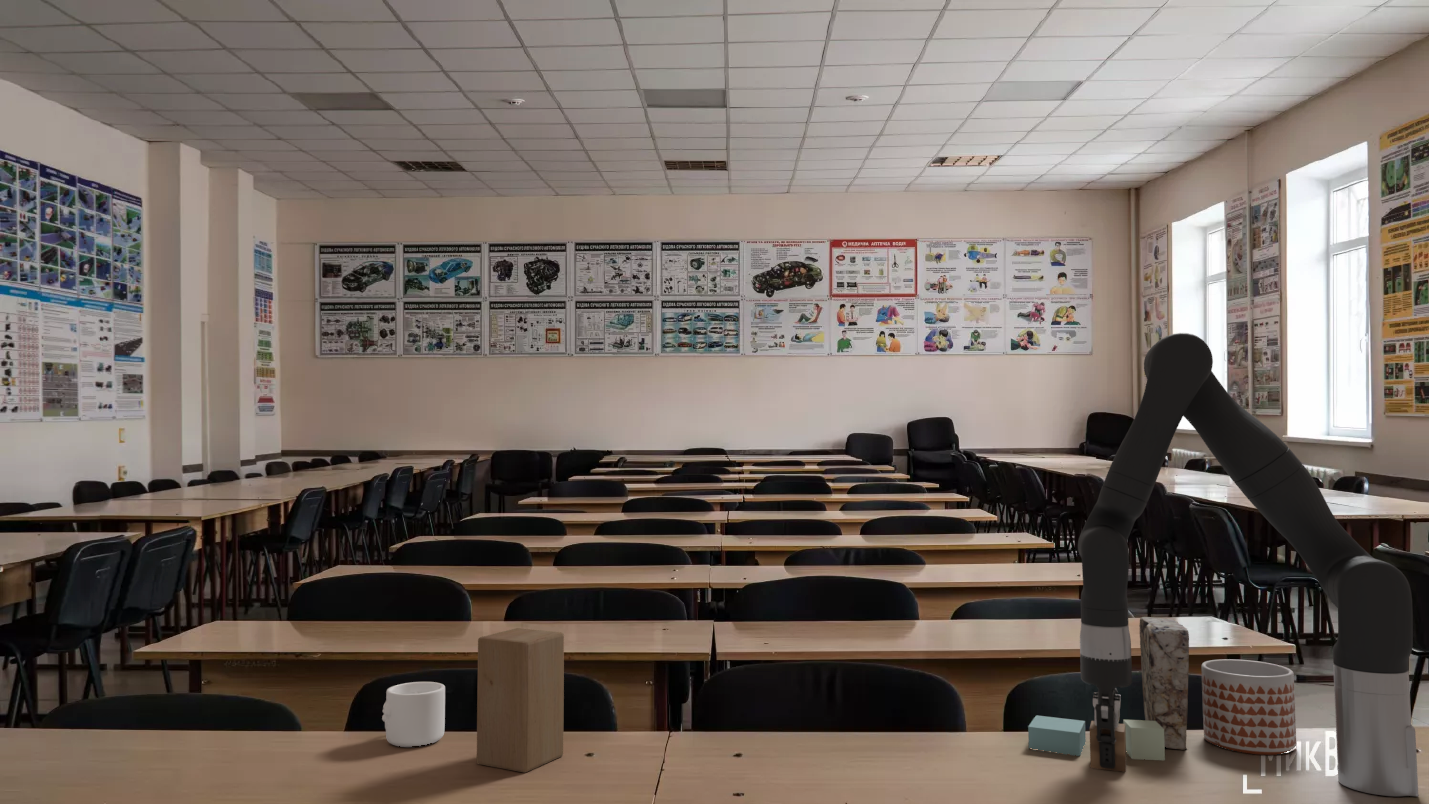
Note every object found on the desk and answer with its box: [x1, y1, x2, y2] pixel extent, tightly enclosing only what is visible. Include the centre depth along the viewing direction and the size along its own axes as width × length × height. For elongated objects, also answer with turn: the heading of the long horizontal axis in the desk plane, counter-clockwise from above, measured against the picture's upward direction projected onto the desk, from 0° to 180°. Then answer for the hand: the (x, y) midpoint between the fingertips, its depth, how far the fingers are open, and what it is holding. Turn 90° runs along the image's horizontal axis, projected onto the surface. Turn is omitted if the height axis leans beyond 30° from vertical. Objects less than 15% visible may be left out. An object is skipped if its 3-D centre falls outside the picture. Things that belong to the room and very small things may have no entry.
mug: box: [381, 681, 446, 748], centre depth 167 cm, size 12×10×9 cm
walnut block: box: [1089, 720, 1127, 773], centre depth 152 cm, size 5×5×6 cm
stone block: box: [1139, 616, 1190, 751], centre depth 166 cm, size 13×7×20 cm, turn 171°
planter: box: [1201, 658, 1297, 756], centre depth 163 cm, size 14×14×13 cm
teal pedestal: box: [1027, 715, 1087, 757], centre depth 162 cm, size 8×8×4 cm
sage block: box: [1122, 719, 1166, 761], centre depth 157 cm, size 5×5×5 cm
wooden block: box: [476, 627, 565, 774], centre depth 156 cm, size 10×10×20 cm
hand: (1108, 761), depth 152 cm, fingers closed on walnut block, 5 cm apart
